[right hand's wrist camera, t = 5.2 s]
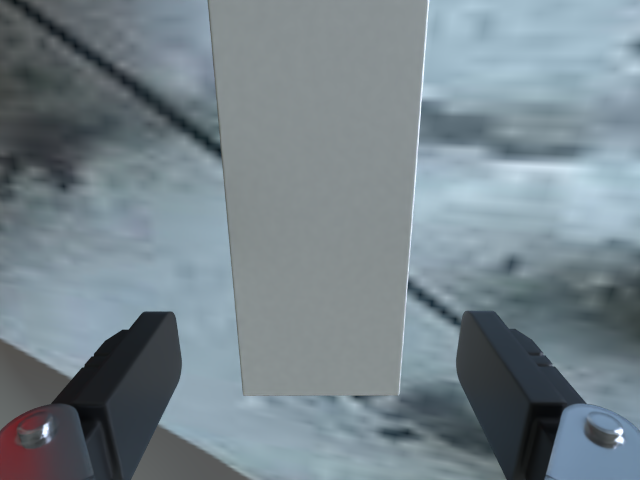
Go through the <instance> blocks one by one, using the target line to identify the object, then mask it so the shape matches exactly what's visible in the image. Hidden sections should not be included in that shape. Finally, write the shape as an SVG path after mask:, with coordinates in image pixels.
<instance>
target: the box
mask: <svg viewBox="0 0 640 480" xmlns="http://www.w3.org/2000/svg"><path fill="white" fill-rule="evenodd" d="M428 8H429V0H208V9H209V20H210V31H211V42H212V54H213V65H214V76H215V87H216V98H217V109H218V120H219V132H220V143H221V154H222V165H223V176H224V187H225V198H226V210H227V221H228V232H229V243H230V254H231V265H232V276H233V287H234V299H235V310H236V321H237V332H238V343H239V354H240V365H241V377H242V388H243V395H244V396H339V395H399V392H400V378H401V365H402V352H403V339H404V325H405V312H406V299H407V286H408V273H409V259H410V246H411V233H412V220H413V206H414V193H415V180H416V167H417V154H418V140H419V127H420V114H421V101H422V87H423V74H424V61H425V48H426V35H427V21H428Z"/></svg>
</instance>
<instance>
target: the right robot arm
mask: <svg viewBox="0 0 640 480" xmlns="http://www.w3.org/2000/svg"><path fill="white" fill-rule="evenodd" d="M181 368H182V359H181V351H180V344H179V337H178V330H177V323H176V317H175V315H174V313H173V312H143V313H142V314H141V315H140V316H139V317H138V319H137V320H136V321H135V322H134V324H133V325H132V326H131V327H130V329H129V330H121V331H120V332H118V333H117V334H115V335H114V336H112V337H110V338H109V339H107V340H106V341H105V342H104V343H103V344H102V345H101V346H100V348H99V349H98V350H97V351H96V352H95V353H94V357H91V358H90V359H89V360H88V361H87V363H86V364H85V367H84V368H81V370H80V371H79V372H78V373H77V374H76V375H75V377H74V378H73V379H72V380H71V381H70V382H69V383H68V385H67V386H66V387H65V388H64V389H63V391H62V392H61V393H60V394H59V395H58V396H57V398H56V399H55V400H54V401H53V402H52V403H51V404H49V405H44V406H41V407H38V408H34V409H32V410H30V411H27V412H25V413H23V414H21V415H20V416H18V417H16V418H15V419H13V420H12V421H11V422H9V423H8V424H7V425H6V426H5V427H3V428H2V429H1V431H0V480H131V478H132V476H133V474H134V472H135V470H136V468H137V466H138V464H139V462H140V460H141V458H142V456H143V454H144V452H145V450H146V448H147V446H148V443H149V441H150V439H151V437H152V435H153V433H154V431H155V429H156V427H157V425H158V423H159V421H160V419H161V417H162V415H163V413H164V411H165V409H166V407H167V405H168V402H169V400H170V398H171V396H172V394H173V392H174V390H175V388H176V386H177V384H178V382H179V379H180V375H181ZM456 368H457V375H458V378H459V381H460V383H461V386H462V388H463V390H464V392H465V394H466V396H467V398H468V400H469V402H470V404H471V406H472V408H473V410H474V413H475V415H476V417H477V419H478V421H479V423H480V425H481V427H482V429H483V431H484V433H485V435H486V437H487V440H488V442H489V444H490V446H491V448H492V450H493V452H494V454H495V456H496V458H497V460H498V462H499V464H500V466H501V469H502V471H503V473H504V475H505V477H506V479H507V480H640V431H639V429H638V428H637V427H636V426H634V425H633V424H632V423H631V422H629V421H628V420H627V419H625V418H624V417H622V416H620V415H619V414H617V413H615V412H613V411H610V410H608V409H606V408H602V407H599V406H596V405H591V404H586V403H585V401H584V400H583V399H582V398H581V397H580V395H579V394H578V393H577V392H576V391H575V390H574V388H573V387H572V386H571V385H570V384H569V383H568V381H567V380H566V379H565V378H564V377H563V376H562V374H561V373H560V372H559V371H558V370H557V369H556V367H553V366H552V363H551V362H550V360H549V359H548V358H547V357H546V356H544V355H543V352H542V351H541V350H540V349H539V348H538V346H537V345H536V344H535V343H534V342H533V341H532V340H531V339H530V338H528V337H527V336H525V335H524V334H522V333H520V332H519V331H517V330H516V329H508V327H507V326H506V325H505V324H504V322H503V321H502V320H501V319H500V317H499V316H498V315H497V314H496V312H494V311H465V312H464V313H463V316H462V321H461V328H460V335H459V343H458V350H457V357H456Z"/></svg>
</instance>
